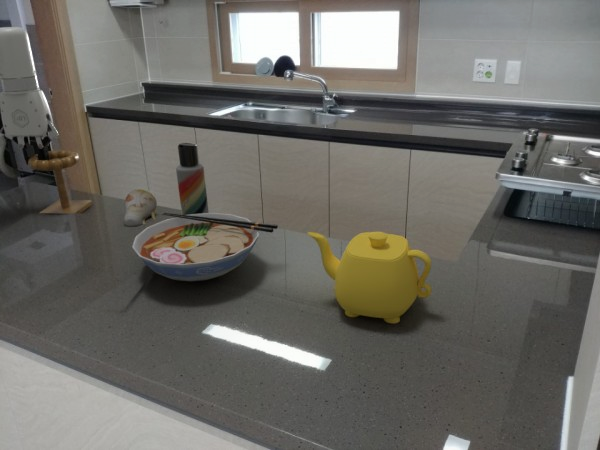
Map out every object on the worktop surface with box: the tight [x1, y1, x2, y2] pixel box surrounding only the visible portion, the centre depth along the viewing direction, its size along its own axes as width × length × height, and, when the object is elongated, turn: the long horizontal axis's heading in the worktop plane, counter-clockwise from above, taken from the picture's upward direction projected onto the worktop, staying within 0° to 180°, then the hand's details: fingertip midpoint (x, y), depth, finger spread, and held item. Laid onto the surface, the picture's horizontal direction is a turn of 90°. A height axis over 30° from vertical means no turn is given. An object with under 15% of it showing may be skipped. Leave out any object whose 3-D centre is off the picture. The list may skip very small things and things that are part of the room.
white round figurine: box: [123, 188, 158, 227], centre depth 123 cm, size 8×10×10 cm
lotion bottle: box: [175, 142, 210, 215], centre depth 114 cm, size 6×6×20 cm
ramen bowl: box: [131, 212, 279, 282], centre depth 99 cm, size 25×23×8 cm
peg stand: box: [39, 158, 93, 214], centre depth 130 cm, size 9×9×13 cm
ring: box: [27, 149, 80, 172], centre depth 128 cm, size 11×11×2 cm
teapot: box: [307, 231, 433, 324], centre depth 85 cm, size 14×20×13 cm
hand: (38, 162), depth 129 cm, fingers closed on ring, 2 cm apart
